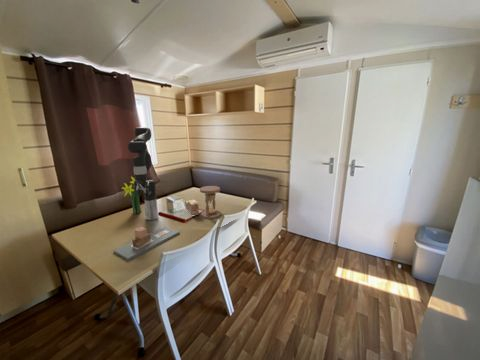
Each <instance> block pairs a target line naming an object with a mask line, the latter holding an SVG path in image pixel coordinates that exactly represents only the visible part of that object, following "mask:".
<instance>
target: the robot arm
mask: <svg viewBox="0 0 480 360" xmlns="http://www.w3.org/2000/svg"><path fill="white" fill-rule="evenodd" d="M134 135H135V138H134V139H132V140H130V141H129V143H128V144H127V149H128V151H129V153H132V154H137V156H135V157H133V158H132V164H133V165H132V166H133V176H134V177H133V178H134V179H135V181H134V184H133V186H134V189H136V191H137V195H138V196H139V197H140V196H142V192H143V193H144V197H143V198H144V199H143V201H144V212H145V219H146V220H147V221H154V220H157V219H159V211H158V201H157V193H156V188H157V187H156V181H155V180H154V179H149V180H148V173H149V171H150V169H151V167H152V156H151V155H150V153H149V151H147V148H148V147H147V146H148V145H147V144H146V143H148V142H149V141H150V140H151V139H152V130H151V128H150V127H145V126H144V127H141V126H140V127H137V126H136V127H135V128H134ZM134 189H133V190H134Z"/></svg>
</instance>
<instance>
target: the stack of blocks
mask: <svg viewBox="0 0 480 360" xmlns="http://www.w3.org/2000/svg"><path fill="white" fill-rule="evenodd" d="M184 202H185V203H184V204H185V210H186V211H187V210H188V211H189V212H190V214H191V215H199V216H200V213H199V212H200V211H199V210H200V209H199V203H198V201H197V200H195V199H189V200H185V201H184ZM188 211H187V212H188ZM189 212H188V213H189ZM190 214H189V215H190ZM191 215H190V216H191Z"/></svg>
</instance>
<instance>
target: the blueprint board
mask: <svg viewBox="0 0 480 360" xmlns="http://www.w3.org/2000/svg"><path fill="white" fill-rule="evenodd" d="M149 233H150V236H151V240H150V241H149V242H147V243H146V244H144V245H143V246H141V247H140V248H137V247H133V243H132V241H130V242H128V243H126V244H124V245H122V246H120V247H117V248H115V249H113V253H114V254H116V255H117V256H120V257H121V258H122V259H124V260H127V261H128V262H129V261H130V260H132V259H134V258H136V257H139V256H140V255H142V254H144V253H146V252H148V251H150V250H152V249H153V248H155V247H157V246H159V245H160V244H163V243H164V242H166V241H169V240H170V239H172V238H174V237H175V236H178V235H180V234H181V233H180V231H179V230H176V229H173V228H171V227H167V226H163V227H160V228H158V229H157V230H155V231H152V232H149Z"/></svg>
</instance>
